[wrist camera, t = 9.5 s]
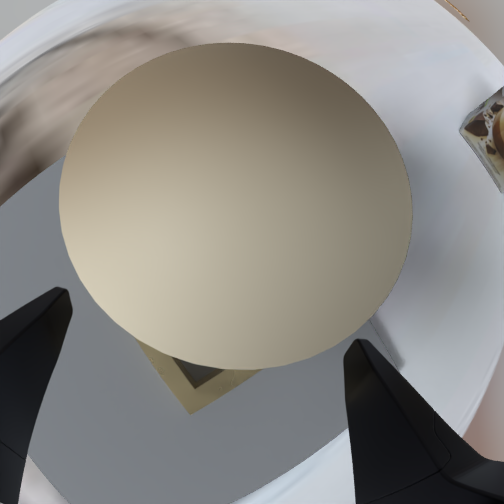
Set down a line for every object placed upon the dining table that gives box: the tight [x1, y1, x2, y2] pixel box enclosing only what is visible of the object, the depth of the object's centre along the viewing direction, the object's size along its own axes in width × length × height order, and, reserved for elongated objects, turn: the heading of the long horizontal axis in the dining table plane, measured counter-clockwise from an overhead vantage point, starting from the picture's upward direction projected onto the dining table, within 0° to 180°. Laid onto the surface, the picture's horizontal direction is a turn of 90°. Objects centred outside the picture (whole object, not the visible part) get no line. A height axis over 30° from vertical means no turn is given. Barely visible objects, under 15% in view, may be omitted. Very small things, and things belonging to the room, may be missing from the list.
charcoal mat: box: [0, 155, 400, 504], centre depth 14 cm, size 24×24×1 cm
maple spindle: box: [59, 43, 413, 370], centre depth 9 cm, size 6×6×12 cm
